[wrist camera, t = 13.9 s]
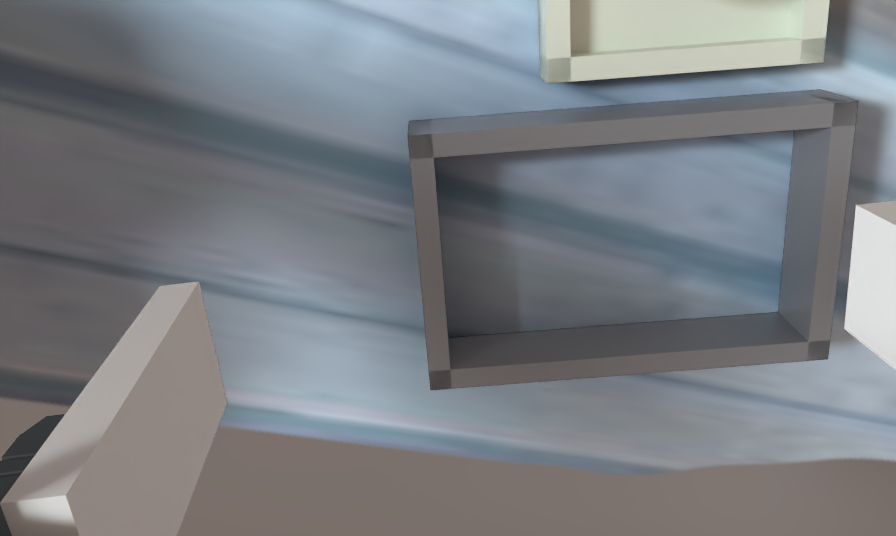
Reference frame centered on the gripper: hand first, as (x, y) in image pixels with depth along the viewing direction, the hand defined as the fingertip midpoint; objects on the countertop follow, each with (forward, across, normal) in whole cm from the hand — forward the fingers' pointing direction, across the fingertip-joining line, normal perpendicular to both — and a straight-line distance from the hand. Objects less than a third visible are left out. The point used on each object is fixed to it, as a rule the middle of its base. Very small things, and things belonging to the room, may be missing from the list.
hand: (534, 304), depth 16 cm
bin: (+28, +9, -9) cm, 30 cm away
